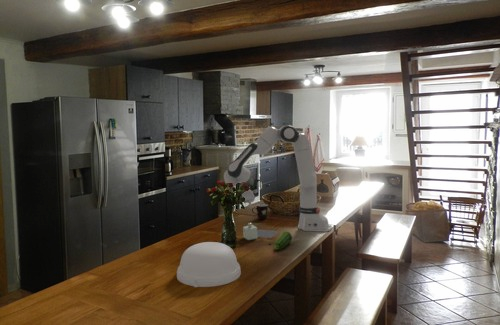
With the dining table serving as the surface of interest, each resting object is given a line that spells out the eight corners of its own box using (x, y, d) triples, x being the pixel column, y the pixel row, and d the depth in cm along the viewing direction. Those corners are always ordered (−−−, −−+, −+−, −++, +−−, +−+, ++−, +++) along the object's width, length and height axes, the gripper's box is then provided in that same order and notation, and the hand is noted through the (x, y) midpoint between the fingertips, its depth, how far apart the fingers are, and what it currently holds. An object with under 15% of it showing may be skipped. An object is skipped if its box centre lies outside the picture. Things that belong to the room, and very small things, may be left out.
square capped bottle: (252, 235, 244) (252, 221, 243) (257, 238, 239) (257, 223, 237) (243, 237, 241) (242, 222, 240) (248, 240, 236) (247, 225, 234)
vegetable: (290, 228, 231) (278, 237, 213) (295, 239, 230) (283, 250, 212) (280, 232, 234) (267, 242, 216) (285, 243, 233) (272, 254, 215)
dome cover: (193, 260, 204) (192, 234, 203) (248, 265, 196) (248, 237, 195) (164, 284, 173) (162, 253, 172) (228, 291, 165) (227, 258, 164)
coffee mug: (268, 217, 296) (268, 204, 295) (267, 219, 287) (267, 206, 286) (253, 217, 297) (252, 204, 296) (252, 219, 288) (251, 206, 287)
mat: (279, 232, 254) (279, 231, 254) (271, 238, 239) (271, 237, 239) (259, 230, 259) (259, 229, 259) (249, 236, 244) (249, 235, 244)
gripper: (222, 189, 248) (230, 207, 241) (251, 186, 258) (259, 203, 250) (220, 195, 253) (227, 213, 245) (248, 192, 262) (256, 208, 254)
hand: (243, 208), depth 248 cm, fingers open, 8 cm apart
